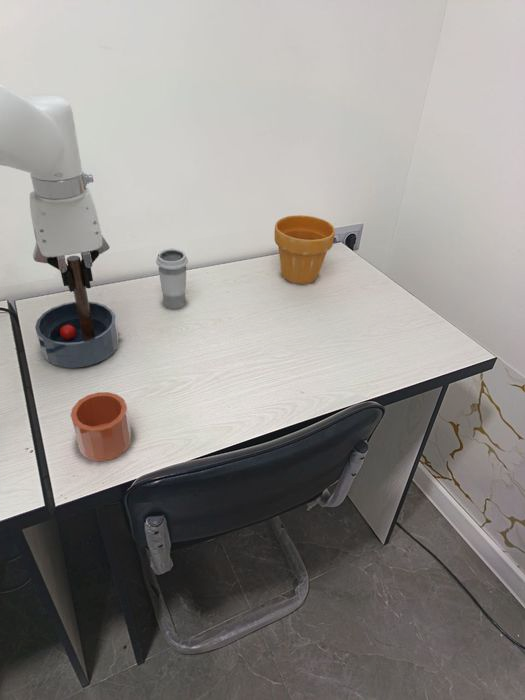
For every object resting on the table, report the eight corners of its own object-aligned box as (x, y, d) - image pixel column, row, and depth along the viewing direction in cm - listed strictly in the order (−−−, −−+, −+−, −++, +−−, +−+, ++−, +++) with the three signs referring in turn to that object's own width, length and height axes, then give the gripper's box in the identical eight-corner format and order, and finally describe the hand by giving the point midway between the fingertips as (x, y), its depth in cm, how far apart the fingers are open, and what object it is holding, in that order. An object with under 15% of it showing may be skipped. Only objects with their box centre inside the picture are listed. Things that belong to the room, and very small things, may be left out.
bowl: (49, 378, 89) (42, 352, 86) (36, 335, 99) (30, 310, 95) (127, 358, 95) (124, 333, 91) (108, 319, 105) (104, 295, 101)
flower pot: (266, 262, 128) (270, 215, 120) (319, 261, 131) (325, 214, 123) (277, 291, 118) (281, 241, 110) (334, 289, 120) (342, 239, 112)
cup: (159, 295, 113) (155, 247, 106) (188, 294, 114) (186, 247, 107) (159, 312, 108) (155, 263, 100) (190, 311, 109) (188, 262, 101)
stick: (86, 347, 94) (68, 262, 84) (83, 341, 96) (65, 256, 85) (97, 344, 95) (81, 259, 85) (94, 338, 97) (77, 254, 86)
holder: (85, 468, 74) (77, 437, 70) (74, 432, 80) (66, 401, 75) (137, 450, 78) (133, 419, 73) (123, 417, 83) (118, 386, 79)
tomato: (59, 342, 96) (55, 326, 95) (66, 340, 99) (62, 326, 98) (73, 338, 95) (69, 323, 95) (80, 337, 98) (76, 322, 98)
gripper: (104, 171, 83) (117, 268, 94) (0, 182, 76) (28, 285, 88) (116, 187, 78) (129, 287, 89) (6, 199, 71) (34, 306, 83)
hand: (78, 285), depth 88 cm, fingers closed on stick, 2 cm apart
